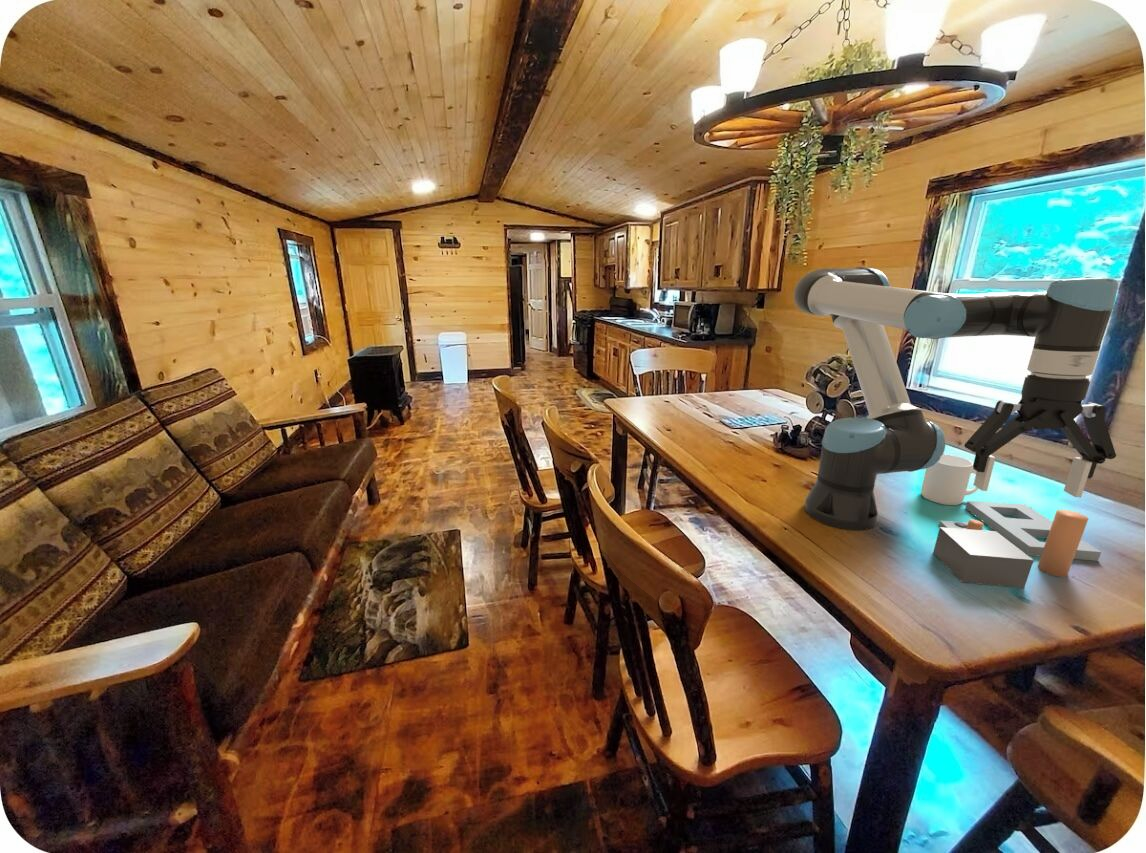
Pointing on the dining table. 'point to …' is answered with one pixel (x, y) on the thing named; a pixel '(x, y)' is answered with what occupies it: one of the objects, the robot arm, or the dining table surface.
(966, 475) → the mug
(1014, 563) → the cover
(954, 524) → the board
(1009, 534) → the socket board
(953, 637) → the dining table surface
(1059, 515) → the peg
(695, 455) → the dining table surface
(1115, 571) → the dining table surface
